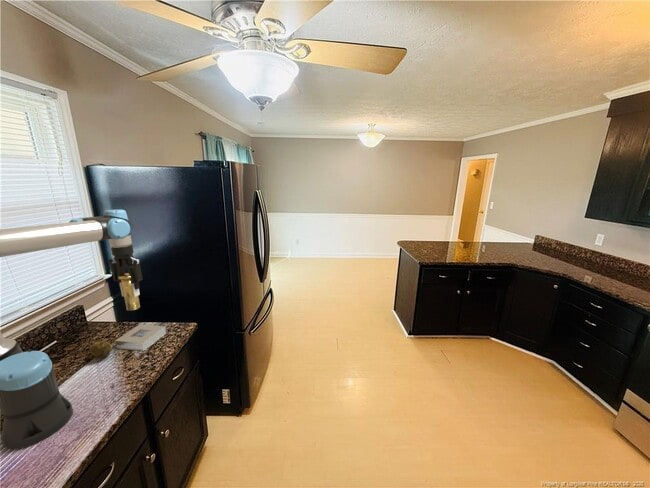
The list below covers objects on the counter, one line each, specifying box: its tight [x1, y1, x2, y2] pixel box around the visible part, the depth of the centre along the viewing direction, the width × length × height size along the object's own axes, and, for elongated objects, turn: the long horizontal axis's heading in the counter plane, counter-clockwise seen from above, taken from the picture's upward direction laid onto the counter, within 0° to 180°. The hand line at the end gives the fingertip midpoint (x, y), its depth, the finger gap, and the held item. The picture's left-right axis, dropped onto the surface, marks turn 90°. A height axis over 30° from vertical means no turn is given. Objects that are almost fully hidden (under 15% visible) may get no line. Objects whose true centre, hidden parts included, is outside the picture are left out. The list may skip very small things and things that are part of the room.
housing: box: [114, 324, 167, 352], centre depth 126 cm, size 14×14×4 cm
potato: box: [89, 340, 113, 359], centre depth 115 cm, size 8×13×8 cm, turn 28°
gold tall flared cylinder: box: [118, 272, 141, 311], centre depth 119 cm, size 6×6×16 cm
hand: (131, 295), depth 119 cm, fingers closed on gold tall flared cylinder, 5 cm apart
